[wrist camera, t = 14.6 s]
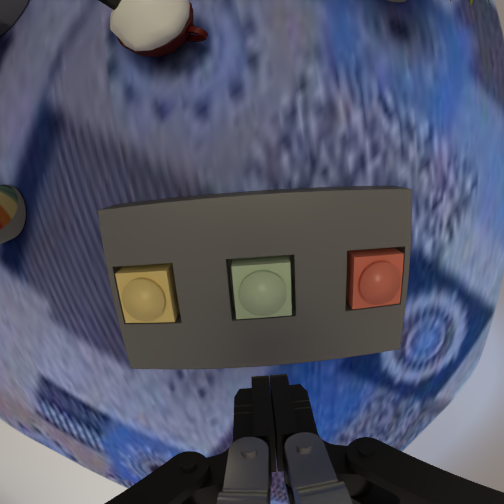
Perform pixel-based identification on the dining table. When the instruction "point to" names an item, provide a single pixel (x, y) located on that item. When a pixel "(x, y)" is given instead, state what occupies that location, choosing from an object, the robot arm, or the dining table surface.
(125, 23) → the cocoa
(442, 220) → the dining table surface
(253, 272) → the sage button
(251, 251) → the panel
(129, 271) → the ochre button
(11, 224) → the lotion bottle
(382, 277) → the red button
